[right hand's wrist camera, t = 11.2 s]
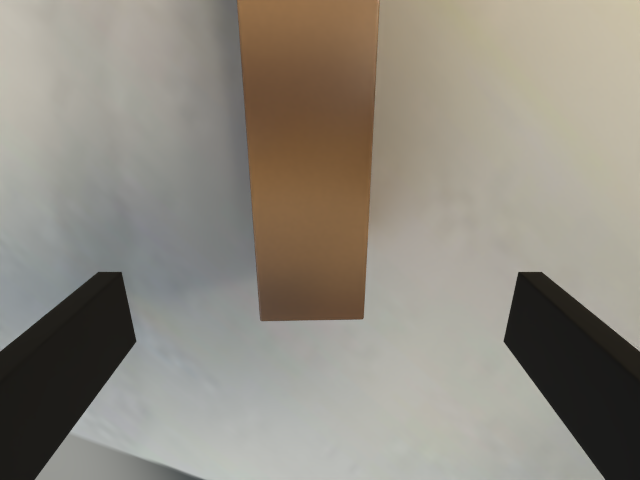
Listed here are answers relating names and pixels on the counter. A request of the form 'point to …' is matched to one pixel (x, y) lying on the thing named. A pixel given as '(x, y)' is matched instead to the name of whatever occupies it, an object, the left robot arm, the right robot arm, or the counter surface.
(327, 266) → the beam
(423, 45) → the counter surface
